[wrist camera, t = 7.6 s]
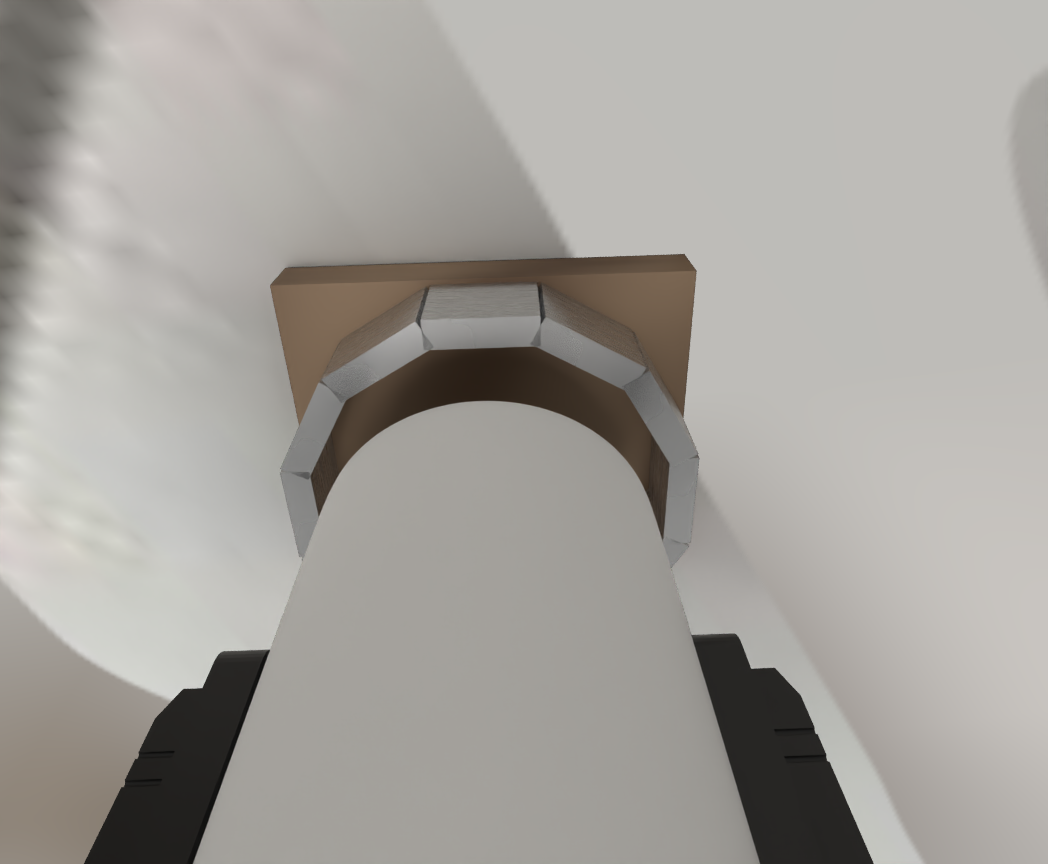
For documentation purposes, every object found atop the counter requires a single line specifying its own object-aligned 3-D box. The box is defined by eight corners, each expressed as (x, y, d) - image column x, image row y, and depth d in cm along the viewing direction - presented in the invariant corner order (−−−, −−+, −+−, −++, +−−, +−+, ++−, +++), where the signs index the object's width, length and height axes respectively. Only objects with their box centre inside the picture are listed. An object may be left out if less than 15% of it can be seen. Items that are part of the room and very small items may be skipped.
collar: (691, 275, 15) (714, 309, 13) (664, 590, 19) (679, 647, 18) (276, 290, 15) (246, 326, 13) (340, 602, 19) (323, 660, 18)
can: (308, 383, 13) (-502, 1948, 2) (673, 392, 13) (1321, 1842, 3) (339, 647, 16) (41, 1813, 6) (631, 651, 16) (856, 1768, 6)
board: (684, 254, 16) (696, 270, 15) (659, 564, 21) (667, 594, 20) (285, 267, 16) (270, 285, 15) (345, 575, 21) (336, 605, 19)
